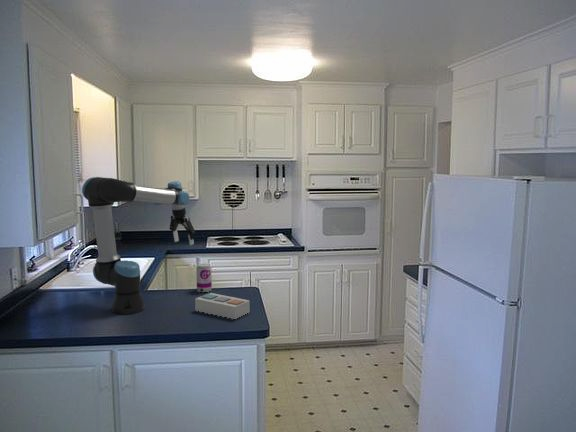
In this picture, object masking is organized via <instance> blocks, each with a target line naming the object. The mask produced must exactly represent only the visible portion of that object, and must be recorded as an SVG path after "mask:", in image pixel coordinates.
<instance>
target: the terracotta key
mask: <svg viewBox="0 0 576 432" xmlns="http://www.w3.org/2000/svg"><path fill="white" fill-rule="evenodd" d="M227 303H228V304H233V305H239V304H242V303H244V301H241V300H236V299H234V300H231V301H229V302H227Z"/></svg>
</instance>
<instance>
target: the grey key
mask: <svg viewBox="0 0 576 432" xmlns="http://www.w3.org/2000/svg"><path fill="white" fill-rule="evenodd" d="M229 300H230V298H226V297H219V298H216V299H214V301H218V302H223V303H224V302H226V301H229Z"/></svg>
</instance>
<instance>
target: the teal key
mask: <svg viewBox="0 0 576 432" xmlns="http://www.w3.org/2000/svg"><path fill="white" fill-rule="evenodd" d="M204 295H205V296H204ZM204 295H202V298H204V299H209V300H211V299H214V298H217V296H216V295H211V294H209V293H206V294H204Z"/></svg>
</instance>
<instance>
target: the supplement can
mask: <svg viewBox="0 0 576 432" xmlns="http://www.w3.org/2000/svg"><path fill="white" fill-rule="evenodd" d="M212 277H213V276H212V266H211V264H210V263H199V264H197V267H196V291H197V292H198V293H200V292H208V293H210V292H212V291H213V290H212V288H213V287H212V286H213V285H212V284H213V283H212V279H213V278H212ZM209 291H210V292H209Z"/></svg>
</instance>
